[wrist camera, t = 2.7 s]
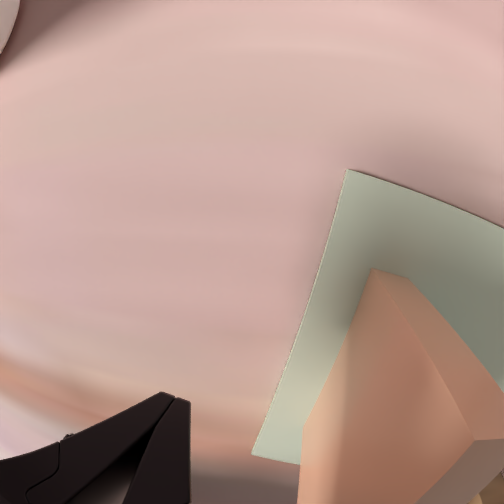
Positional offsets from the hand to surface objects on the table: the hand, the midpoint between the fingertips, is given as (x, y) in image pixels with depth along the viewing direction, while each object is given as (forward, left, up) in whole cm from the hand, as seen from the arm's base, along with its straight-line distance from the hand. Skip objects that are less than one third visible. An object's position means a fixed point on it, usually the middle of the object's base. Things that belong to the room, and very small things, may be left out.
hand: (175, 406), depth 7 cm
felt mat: (0, -9, -5) cm, 10 cm away
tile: (0, -5, -5) cm, 7 cm away
